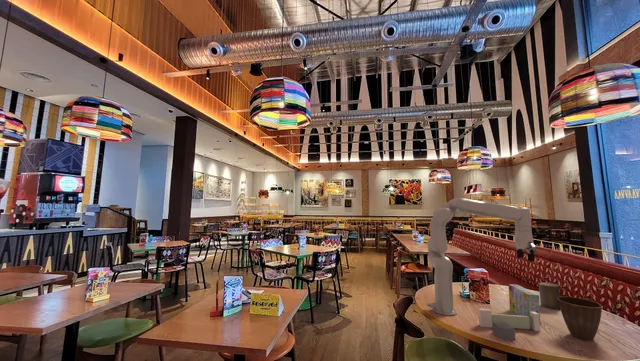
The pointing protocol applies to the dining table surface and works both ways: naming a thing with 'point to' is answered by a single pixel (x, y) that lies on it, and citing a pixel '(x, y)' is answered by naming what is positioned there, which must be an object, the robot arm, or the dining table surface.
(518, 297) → the snack box
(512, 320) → the door
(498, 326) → the block
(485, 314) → the pair of cream posts
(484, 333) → the dining table surface
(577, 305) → the plant pot
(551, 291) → the pillar candle
